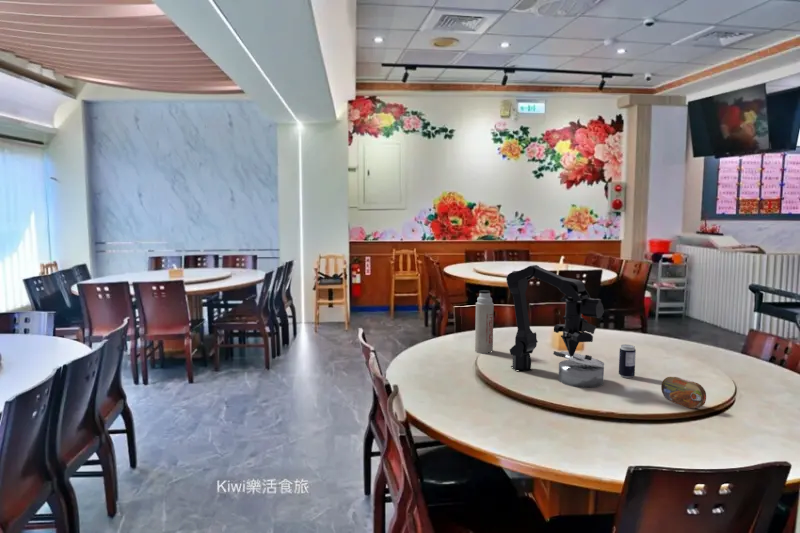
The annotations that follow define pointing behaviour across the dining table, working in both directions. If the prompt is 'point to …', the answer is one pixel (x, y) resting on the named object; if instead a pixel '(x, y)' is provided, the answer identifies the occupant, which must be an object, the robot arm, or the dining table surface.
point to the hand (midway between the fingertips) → (571, 355)
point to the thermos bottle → (484, 323)
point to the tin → (683, 392)
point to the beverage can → (627, 361)
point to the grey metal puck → (580, 374)
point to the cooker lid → (580, 358)
